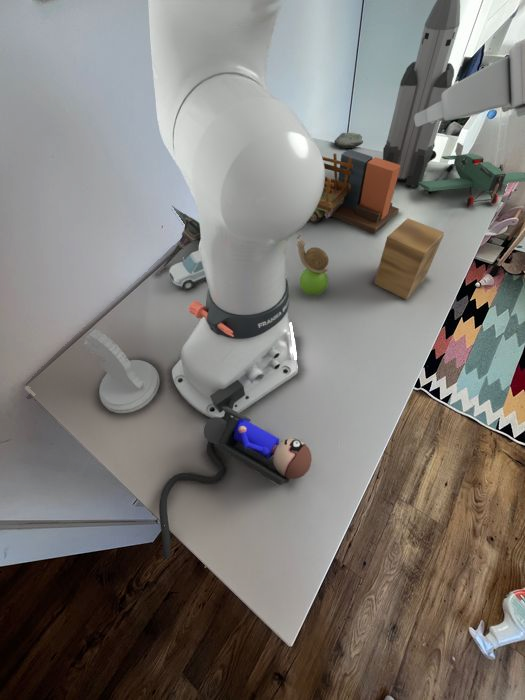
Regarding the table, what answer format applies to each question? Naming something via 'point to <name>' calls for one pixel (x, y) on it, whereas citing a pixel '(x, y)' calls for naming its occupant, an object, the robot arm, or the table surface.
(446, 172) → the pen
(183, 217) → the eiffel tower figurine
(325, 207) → the toy truck
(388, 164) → the back pad
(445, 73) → the toy rocket
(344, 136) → the stone
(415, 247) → the block
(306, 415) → the table surface
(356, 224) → the pad mount
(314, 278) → the snail figurine
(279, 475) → the character figurine
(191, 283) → the toy car
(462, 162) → the toy airplane
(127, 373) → the white curved piece
